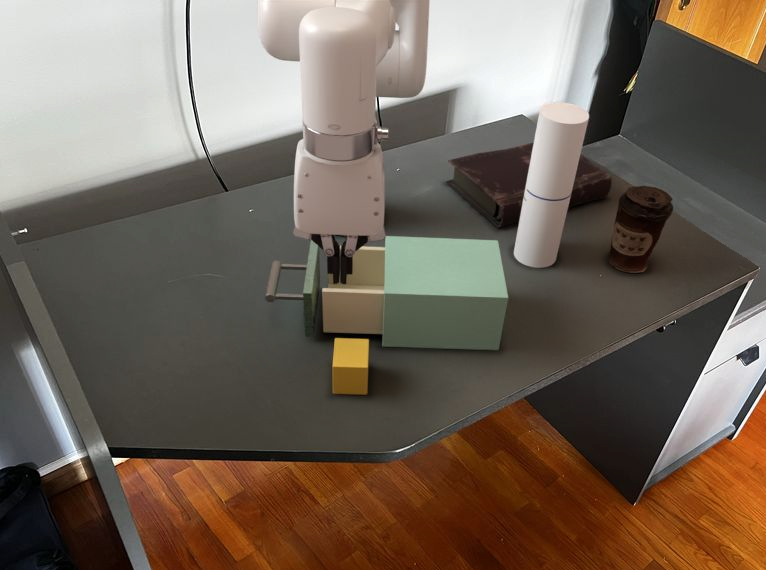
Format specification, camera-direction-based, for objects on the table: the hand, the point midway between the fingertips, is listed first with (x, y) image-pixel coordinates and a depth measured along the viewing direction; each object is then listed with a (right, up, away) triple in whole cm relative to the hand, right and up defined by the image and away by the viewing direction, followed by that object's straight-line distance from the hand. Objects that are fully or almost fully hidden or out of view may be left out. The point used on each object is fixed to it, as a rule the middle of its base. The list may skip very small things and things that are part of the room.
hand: (340, 277), depth 90 cm
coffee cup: (+44, +5, +34) cm, 56 cm away
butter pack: (0, -13, +9) cm, 16 cm away
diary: (+30, +21, +49) cm, 61 cm away
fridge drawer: (-2, -3, +18) cm, 19 cm away
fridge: (+12, -4, +20) cm, 24 cm away
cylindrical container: (+29, +7, +34) cm, 45 cm away
